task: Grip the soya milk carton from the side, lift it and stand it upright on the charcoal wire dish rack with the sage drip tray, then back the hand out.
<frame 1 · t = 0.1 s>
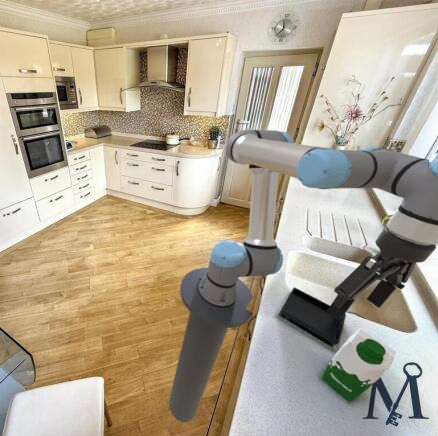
hand: (354, 308, 55), 29 cm above the worktop, tool pointing down, fingers open, 13 cm apart
soya milk: (339, 382, 68), on the worktop
dish rack: (308, 319, 87), on the worktop
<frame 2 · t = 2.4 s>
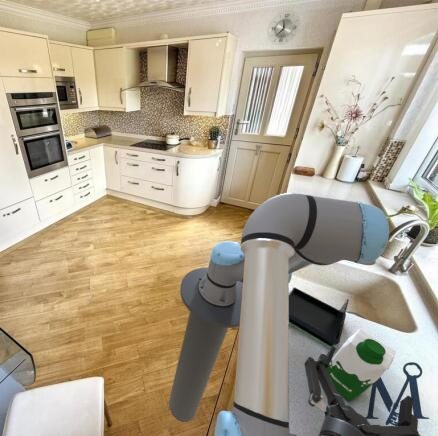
hand: (366, 372, 53), 18 cm above the worktop, tool horizontal, fingers open, 13 cm apart
nothing on the worktop moved.
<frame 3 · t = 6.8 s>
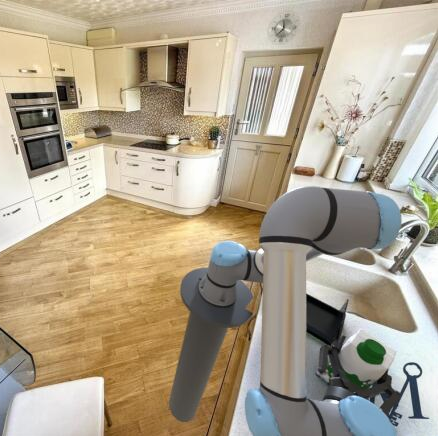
hand: (362, 351, 65), 11 cm above the worktop, tool horizontal, fingers closed on soya milk, 9 cm apart
soya milk: (339, 382, 68), on the worktop, touching gripper
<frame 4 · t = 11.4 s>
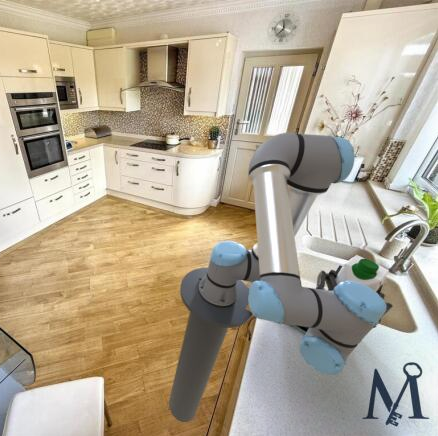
hand: (357, 277, 70), 26 cm above the worktop, tool horizontal, fingers closed on soya milk, 9 cm apart
soya milk: (336, 310, 72), point 15 cm above the worktop, touching gripper
when the fingers open (14 cm above the worktop, at t = 16.2 s): soya milk stays where it is, resting on dish rack.
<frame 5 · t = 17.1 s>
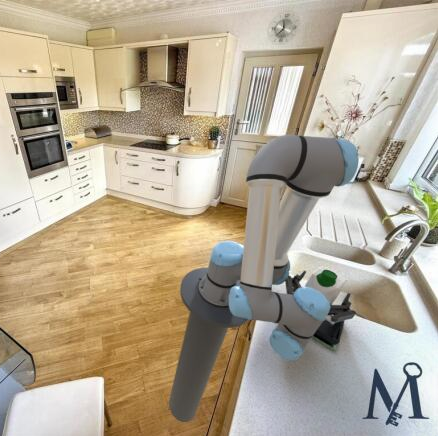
hand: (324, 284, 82), 15 cm above the worktop, tool horizontal, fingers open, 13 cm apart
soya milk: (307, 312, 86), point 3 cm above the worktop, touching dish rack
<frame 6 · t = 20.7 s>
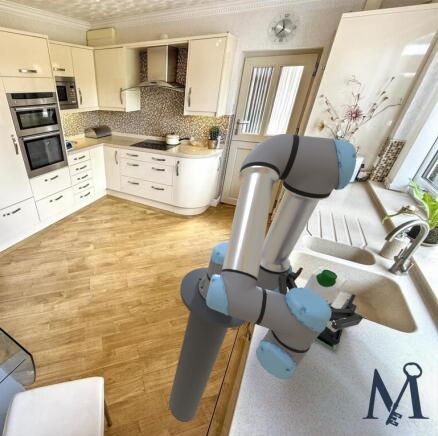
hand: (324, 283, 70), 24 cm above the worktop, tool horizontal, fingers open, 13 cm apart
nothing on the worktop moved.
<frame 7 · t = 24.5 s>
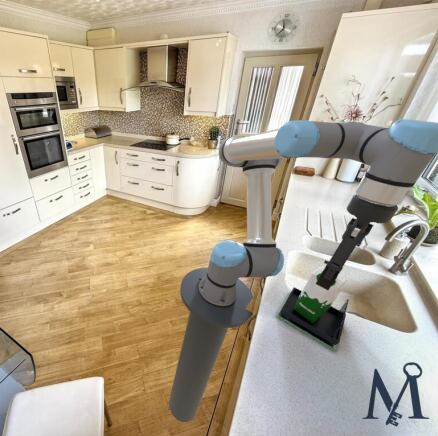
hand: (330, 274, 60), 33 cm above the worktop, tool pointing down, fingers open, 13 cm apart
nothing on the worktop moved.
at the end: soya milk inside the target area on the dish rack (0.1 cm from its centre), point 2.8 cm above the dish rack's base; soya milk tilted 0°; the gripper is holding nothing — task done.
